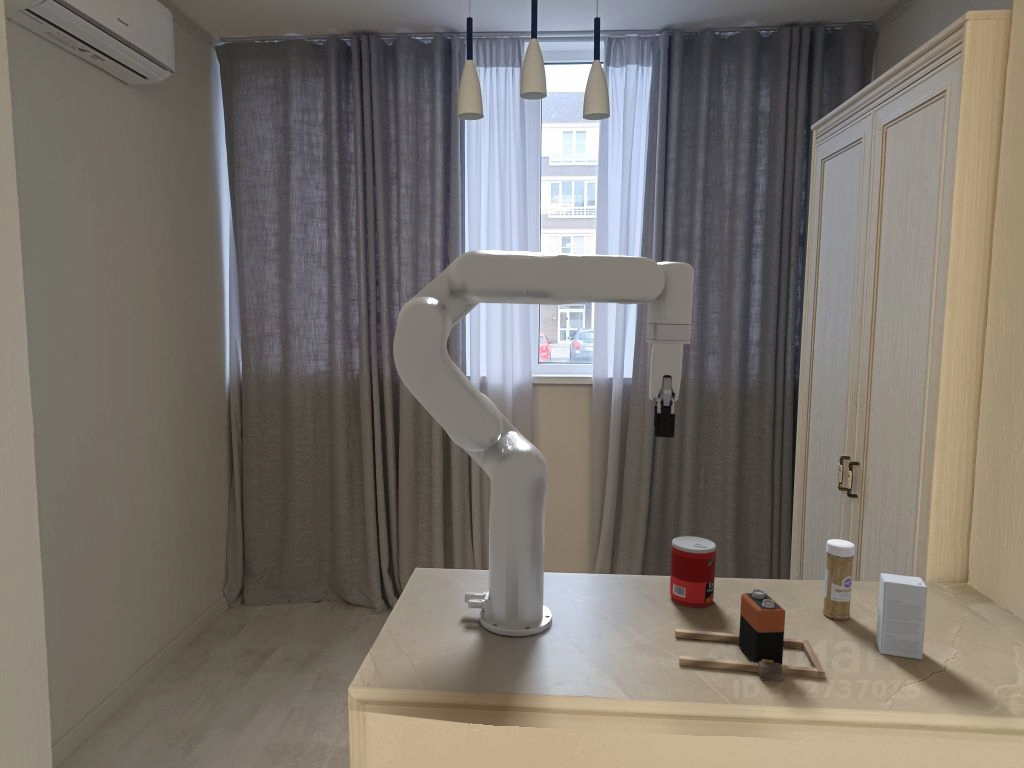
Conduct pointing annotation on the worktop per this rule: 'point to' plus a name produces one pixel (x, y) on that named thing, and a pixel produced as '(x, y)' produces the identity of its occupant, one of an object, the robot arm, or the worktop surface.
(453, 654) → the worktop surface
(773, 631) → the battery
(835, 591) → the sprinkles bottle
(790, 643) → the track
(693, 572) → the canned food
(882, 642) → the skincare box
